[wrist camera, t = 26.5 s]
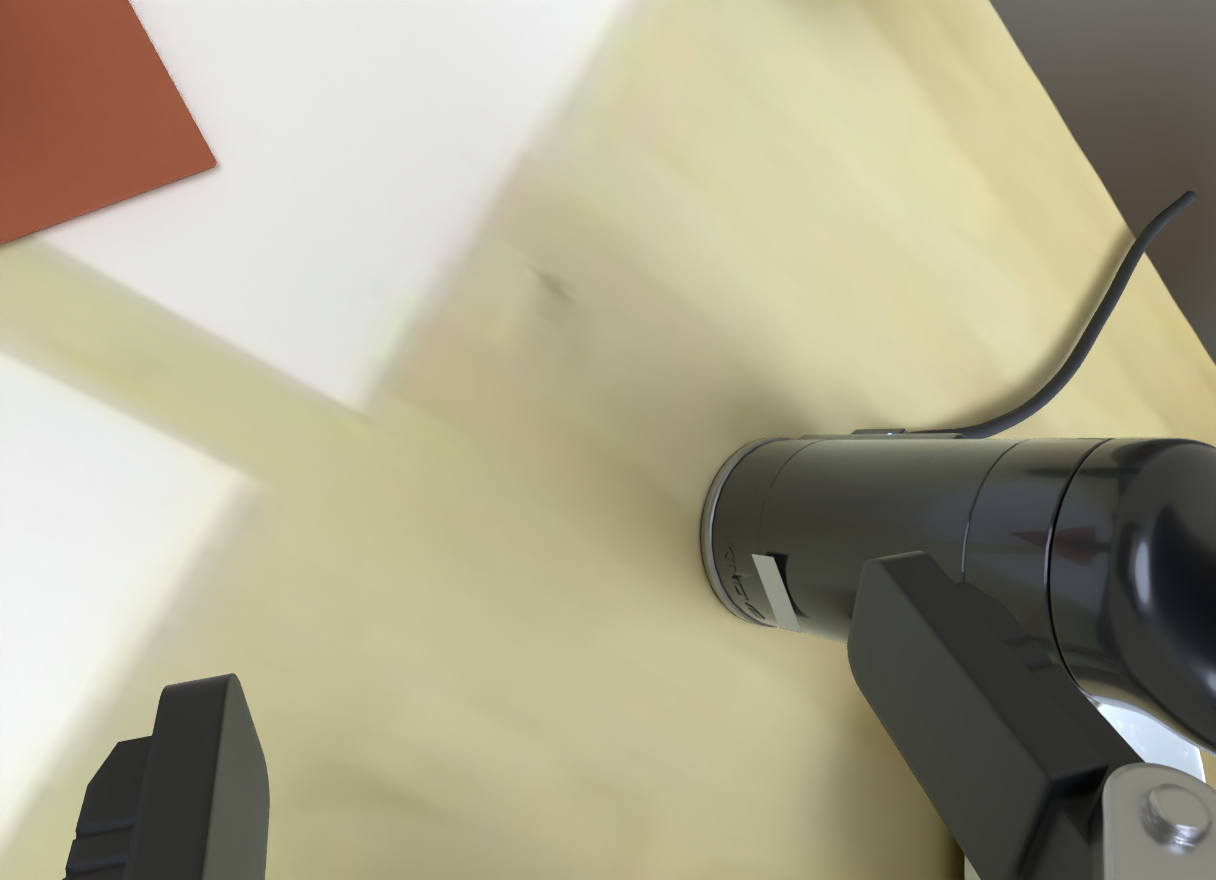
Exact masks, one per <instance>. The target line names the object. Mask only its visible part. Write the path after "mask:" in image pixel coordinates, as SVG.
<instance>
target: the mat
mask: <svg viewBox="0 0 1216 880" xmlns="http://www.w3.org/2000/svg"><path fill="white" fill-rule="evenodd" d="M216 164H217V162H216V160H215V158H214V156H213V154H212V153H211V151H210V149H209V147H208V145H207V144H206V142H205V140H204V138H203V136H202V134H201V133H200V131H199V129H198V127H197V125H196V123H195V122H194V120H193V118H192V116H191V114H190V112H189V111H188V109H187V107H186V105H185V103H184V101H183V100H182V98H181V96H180V94H179V92H178V91H177V89H176V87H175V85H174V83H173V81H172V80H171V78H170V76H169V74H168V72H167V70H166V69H165V67H164V65H163V63H162V61H161V59H160V58H159V56H158V54H157V52H156V50H155V49H154V47H153V45H152V43H151V41H150V39H149V38H148V36H147V34H146V32H145V30H144V28H143V27H142V25H141V23H140V21H139V19H138V17H137V16H136V14H135V12H134V10H133V8H132V7H131V5H130V3H129V1H128V0H0V245H1V244H3V243H6V242H9V241H12V240H14V239H17V238H20V237H23V236H25V235H28V234H31V233H34V232H36V231H39V230H42V229H45V228H47V227H50V226H53V225H56V224H58V223H61V222H64V221H67V220H70V219H72V218H75V217H78V216H81V215H83V214H86V213H89V212H92V211H94V210H97V209H100V208H103V207H105V206H108V205H111V204H114V203H116V202H119V201H122V200H125V199H127V198H130V197H133V196H136V195H138V194H141V193H144V192H147V191H149V190H152V189H155V188H158V187H160V186H163V185H166V184H169V183H172V182H174V181H177V180H180V179H183V178H185V177H188V176H191V175H194V174H196V173H199V172H202V171H205V170H207V169H210V168H213V167H214V166H215V165H216Z"/></svg>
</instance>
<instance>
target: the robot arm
mask: <svg viewBox="0 0 1216 880" xmlns="http://www.w3.org/2000/svg"><path fill="white" fill-rule="evenodd" d="M1195 199H1196V194H1195V192H1193V191H1188V192H1186V193H1185V194H1184V195H1182V196H1181V197H1180V198H1179V199H1178V200H1177V201H1175V202H1174V203H1173V204H1172V205H1170V206H1169V207H1168V208H1167V209H1165V210H1164V211H1163V212H1161V213H1160V214H1159V215H1158V216H1157V217H1156V218H1155V219H1154V220H1153V221H1152V222H1151V223H1150V224H1149V225H1148V226H1147V227H1146V228H1145V229H1144V231H1143V232H1142V233H1141V234H1140V235H1139V237H1138V238H1137V240H1136V241H1135V242H1134V244H1133V245H1132V247H1131V249H1130V250H1129V252H1128V254H1127V255H1126V257H1125V259H1124V261H1123V263H1122V265H1121V266H1120V268H1119V270H1118V272H1117V274H1116V276H1115V278H1114V280H1113V282H1112V284H1111V286H1110V288H1109V290H1108V292H1107V294H1106V295H1105V297H1104V299H1103V301H1102V302H1101V304H1100V306H1099V307H1098V309H1097V311H1096V312H1095V314H1094V316H1093V317H1092V319H1091V321H1090V323H1089V324H1088V326H1087V328H1086V330H1085V331H1084V333H1083V335H1082V337H1081V338H1080V340H1079V342H1078V343H1077V345H1076V347H1075V349H1074V350H1073V352H1072V353H1071V355H1070V356H1069V358H1068V359H1067V361H1066V362H1065V364H1064V365H1063V366H1062V368H1061V369H1060V370H1059V371H1058V373H1057V374H1056V375H1055V376H1054V377H1053V378H1052V379H1051V380H1050V381H1049V382H1048V383H1047V384H1046V386H1045V387H1043V388H1042V389H1041V390H1040V391H1039V392H1038V393H1037V394H1036V395H1035V396H1034V397H1032V398H1031V399H1030V400H1029V401H1027V402H1026V403H1024V404H1023V405H1021V406H1020V407H1018V408H1016V409H1015V410H1013V411H1011V412H1009V413H1007V414H1005V415H1002V416H1000V417H998V418H996V419H993V420H991V421H988V422H986V423H983V424H980V425H976V426H971V427H966V428H958V429H948V430H932V431H919V432H912V433H907V432H906V430H905V429H863V430H855V431H854V432H853V433H852V434H850V435H805V436H803V437H802V438H801V439H800V440H795V439H790V438H765V439H760V440H757V441H754V442H752V443H750V444H748V445H746V446H744V447H743V448H741V449H740V450H738V451H737V452H736V453H735V454H734V455H732V456H731V458H730V459H729V460H728V461H727V462H726V463H725V464H724V466H723V467H722V468H721V470H720V471H719V473H718V474H717V476H716V478H715V480H714V482H713V484H712V486H711V489H710V491H709V494H708V497H707V500H706V503H705V507H704V512H703V518H702V527H701V545H702V554H703V560H704V565H705V569H706V572H707V575H708V578H709V580H710V583H711V585H712V587H713V589H714V591H715V592H716V594H717V596H718V597H719V599H720V600H721V601H722V602H723V604H724V605H725V606H726V607H727V608H728V609H729V610H730V611H731V612H733V613H734V614H735V615H736V616H738V617H740V618H741V619H743V620H745V621H748V622H751V623H754V624H758V625H762V626H768V627H779V628H783V629H787V630H792V631H796V632H800V633H805V634H809V635H812V636H817V637H821V638H825V639H829V640H834V641H838V642H842V643H846V644H847V649H848V658H849V663H850V667H851V670H852V674H853V676H854V679H855V681H856V683H857V685H858V687H859V688H860V690H861V692H862V693H863V695H864V696H865V698H866V700H867V701H868V703H869V704H870V706H871V707H872V709H873V711H874V712H875V714H876V715H877V717H878V718H879V720H880V722H881V723H882V725H883V726H884V728H885V730H886V731H887V733H888V734H889V736H890V737H891V739H892V741H893V742H894V744H895V745H896V747H897V748H898V750H899V752H900V753H901V755H902V756H903V758H904V760H905V761H906V763H907V764H908V766H909V767H910V769H911V771H912V772H913V774H914V775H915V777H916V778H917V780H918V782H919V783H920V785H921V786H922V788H923V789H924V791H925V793H926V794H927V796H928V797H929V799H930V801H931V802H932V804H933V805H934V807H935V808H936V810H937V812H938V813H939V815H940V816H941V818H942V819H943V821H944V823H945V824H946V826H947V827H948V829H949V830H950V832H951V834H952V835H953V837H954V838H955V840H956V842H957V843H958V845H959V846H960V848H961V849H962V851H963V853H964V854H965V856H966V857H967V859H968V860H969V862H970V864H971V865H972V867H973V868H974V870H975V871H976V873H977V875H978V876H979V878H980V879H981V880H1216V790H1214V789H1213V788H1212V787H1210V786H1209V785H1208V784H1206V783H1205V782H1203V781H1201V780H1199V779H1198V778H1196V777H1194V776H1192V775H1190V774H1188V773H1186V772H1184V771H1181V770H1178V769H1176V768H1173V767H1170V766H1165V765H1161V764H1156V763H1146V762H1145V761H1144V760H1143V759H1142V758H1141V757H1140V756H1139V755H1138V754H1137V753H1136V752H1135V751H1134V750H1133V748H1132V747H1131V746H1130V745H1129V744H1128V743H1127V742H1126V741H1125V739H1124V738H1123V737H1122V736H1121V735H1120V734H1119V733H1118V732H1117V731H1116V729H1115V728H1114V727H1113V726H1112V725H1111V724H1110V723H1109V722H1108V721H1107V719H1106V718H1105V717H1104V716H1103V715H1102V714H1101V713H1100V712H1099V711H1098V709H1097V708H1096V707H1095V706H1094V705H1093V704H1092V703H1091V702H1090V701H1093V702H1098V703H1103V704H1106V705H1110V706H1114V707H1118V708H1122V709H1126V710H1130V711H1133V712H1136V713H1139V714H1142V715H1144V716H1146V717H1148V718H1150V719H1152V720H1153V721H1155V722H1157V723H1158V724H1160V725H1162V726H1163V727H1165V728H1166V729H1168V730H1169V731H1170V732H1172V733H1173V734H1175V735H1176V736H1178V737H1179V738H1181V739H1183V740H1185V741H1186V742H1188V743H1190V744H1191V745H1193V746H1195V747H1197V748H1199V749H1201V750H1203V751H1205V752H1208V753H1210V754H1212V755H1214V756H1216V447H1214V446H1212V445H1210V444H1207V443H1204V442H1201V441H1196V440H1191V439H1185V438H1170V437H1127V438H1041V439H984V438H987V437H990V436H992V435H995V434H997V433H999V432H1002V431H1004V430H1006V429H1008V428H1010V427H1012V426H1014V425H1016V424H1018V423H1020V422H1022V421H1023V420H1025V419H1026V418H1028V417H1030V416H1031V415H1033V414H1034V413H1036V412H1037V411H1038V410H1040V409H1041V408H1042V407H1043V406H1045V405H1046V404H1047V403H1048V402H1049V401H1050V400H1051V399H1052V398H1053V397H1054V396H1055V395H1056V394H1057V393H1058V392H1059V391H1060V390H1061V389H1062V388H1063V387H1064V386H1065V385H1066V384H1067V383H1068V381H1069V380H1070V379H1071V378H1072V377H1073V375H1074V374H1075V373H1076V371H1077V370H1078V368H1079V367H1080V365H1081V364H1082V362H1083V361H1084V359H1085V358H1086V356H1087V354H1088V353H1089V351H1090V349H1091V347H1092V346H1093V344H1094V342H1095V340H1096V339H1097V337H1098V335H1099V333H1100V331H1101V330H1102V328H1103V326H1104V324H1105V323H1106V321H1107V319H1108V317H1109V316H1110V314H1111V312H1112V311H1113V309H1114V307H1115V305H1116V304H1117V302H1118V300H1119V298H1120V296H1121V294H1122V292H1123V290H1124V289H1125V287H1126V285H1127V283H1128V281H1129V279H1130V277H1131V275H1132V273H1133V271H1134V269H1135V267H1136V265H1137V263H1138V261H1139V259H1140V258H1141V256H1142V254H1143V253H1144V251H1145V250H1146V248H1147V246H1148V245H1149V244H1150V242H1151V241H1152V239H1153V238H1154V237H1155V236H1156V235H1157V233H1158V232H1159V231H1160V230H1161V229H1162V228H1163V227H1164V226H1165V225H1166V224H1167V223H1168V222H1169V221H1170V220H1171V219H1172V218H1174V217H1175V216H1176V215H1177V214H1179V213H1180V212H1181V211H1182V210H1184V209H1185V208H1186V207H1187V206H1188V205H1189V204H1191V203H1192V202H1193V201H1194V200H1195ZM269 807H270V798H269V782H268V774H267V767H266V762H265V758H264V754H263V751H262V748H261V745H260V742H259V739H258V736H257V733H256V730H255V727H254V724H253V721H252V717H251V714H250V711H249V708H248V705H247V702H246V699H245V696H244V693H243V690H242V687H241V684H240V681H239V679H238V677H237V676H236V675H235V674H234V673H233V674H227V675H222V676H216V677H211V678H205V679H200V680H194V681H189V682H183V683H178V684H172V685H167V686H166V687H165V688H164V689H163V691H162V693H161V696H160V700H159V705H158V710H157V715H156V719H155V724H154V729H153V734H152V736H148V737H143V738H137V739H132V740H127V741H122V742H118V743H117V745H116V746H115V748H114V749H113V750H112V752H111V753H110V755H109V756H108V757H107V759H106V760H105V762H104V763H103V764H102V766H101V767H100V769H99V770H98V771H97V773H96V774H95V776H94V777H93V778H92V780H91V781H90V783H89V784H88V786H87V789H86V793H85V797H84V801H83V804H82V808H81V812H80V816H79V820H78V823H77V827H76V839H75V840H73V842H72V846H71V850H70V853H69V857H68V861H67V865H66V868H65V869H66V878H64V879H63V880H265V868H266V854H267V839H268V824H269Z"/></svg>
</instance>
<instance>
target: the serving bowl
mask: <svg viewBox="0 0 1216 880" xmlns="http://www.w3.org/2000/svg"><path fill="white" fill-rule="evenodd" d="M1090 702H1091V703H1092V704H1093V705H1094V706H1095V707H1096V708H1097V709H1098V711H1099V712H1100V713H1101V714H1102V715H1103V716H1104V717H1105V718H1106V719H1107V721H1108V722H1109V723H1110V724H1111V725H1112V726H1113V727H1114V728H1115V729H1116V731H1117V732H1118V733H1119V734H1120V735H1121V736H1122V737H1123V738H1124V739H1125V741H1126V742H1127V743H1128V744H1129V745H1130V746H1131V747H1132V748H1133V750H1134V751H1135V752H1136V753H1137V754H1138V755H1139V756H1140V757H1141V758H1142V759H1143V760H1144V761H1145V762H1146V763H1156V764H1161V765H1165V766H1170V767H1173V768H1176V769H1178V770H1181V771H1184V772H1186V773H1188V774H1190V775H1192V776H1194V777H1196V778H1198V779H1199V780H1201V781H1203V782H1205V777H1204V771H1203V766H1202V761H1201V757H1200V753H1199V749H1198V748H1197V747H1195V746H1193V745H1191V744H1190V743H1188V742H1186V741H1185V740H1183V739H1181V738H1179V737H1178V736H1176V735H1175V734H1173V733H1172V732H1170V731H1169V730H1168V729H1166V728H1165V727H1163V726H1162V725H1160V724H1158V723H1157V722H1155V721H1153V720H1152V719H1150V718H1148V717H1146V716H1144V715H1142V714H1139V713H1136V712H1133V711H1130V710H1126V709H1122V708H1118V707H1114V706H1110V705H1106V704H1103V703H1098V702H1093V701H1090ZM965 880H981V879H980V878H979V876H978V875H977V873H976V871H975V870H974V868H973V867H972V865H971V864H970V862H969V860H968V859H967V857H966V856H965Z"/></svg>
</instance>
